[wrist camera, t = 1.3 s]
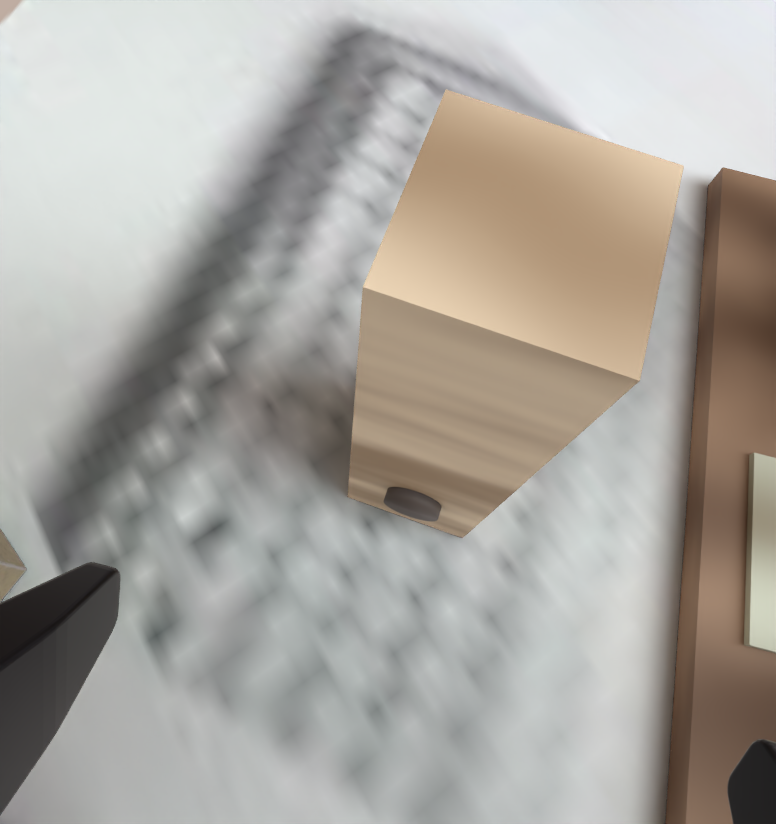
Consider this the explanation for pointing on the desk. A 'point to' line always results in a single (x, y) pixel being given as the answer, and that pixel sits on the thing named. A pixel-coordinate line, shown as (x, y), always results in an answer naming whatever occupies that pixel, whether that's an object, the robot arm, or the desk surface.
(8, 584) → the padlock
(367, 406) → the tan wood post
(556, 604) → the desk surface
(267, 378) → the desk surface
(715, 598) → the base board
